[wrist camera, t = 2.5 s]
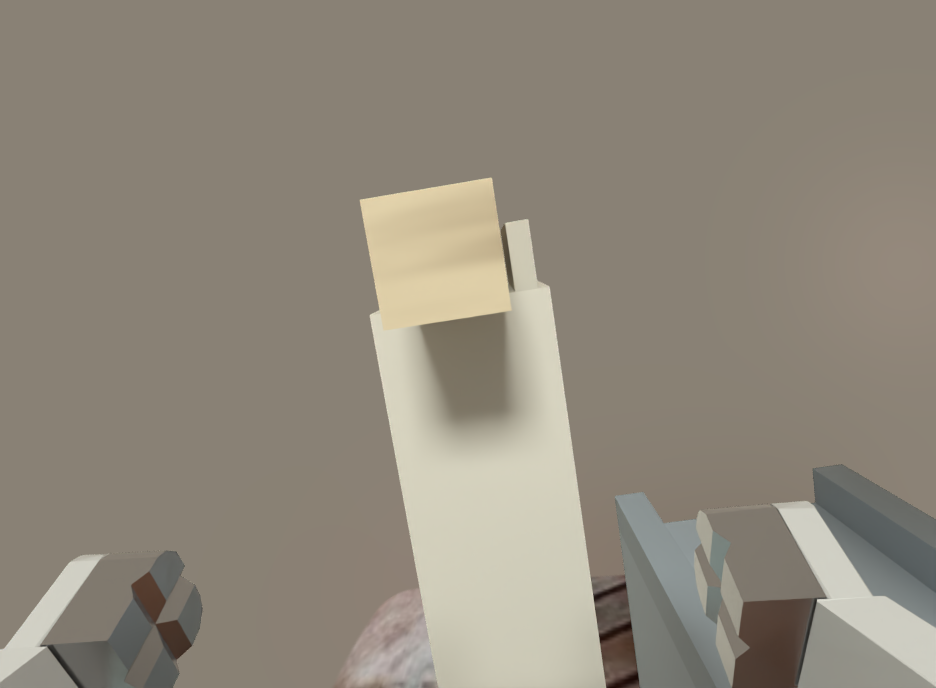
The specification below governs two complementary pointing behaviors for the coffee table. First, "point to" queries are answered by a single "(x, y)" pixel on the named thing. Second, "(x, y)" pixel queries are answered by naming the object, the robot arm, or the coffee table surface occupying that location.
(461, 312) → the rail
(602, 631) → the coffee table surface
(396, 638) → the coffee table surface
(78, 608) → the robot arm
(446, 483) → the bracket post
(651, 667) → the grey slotted block
